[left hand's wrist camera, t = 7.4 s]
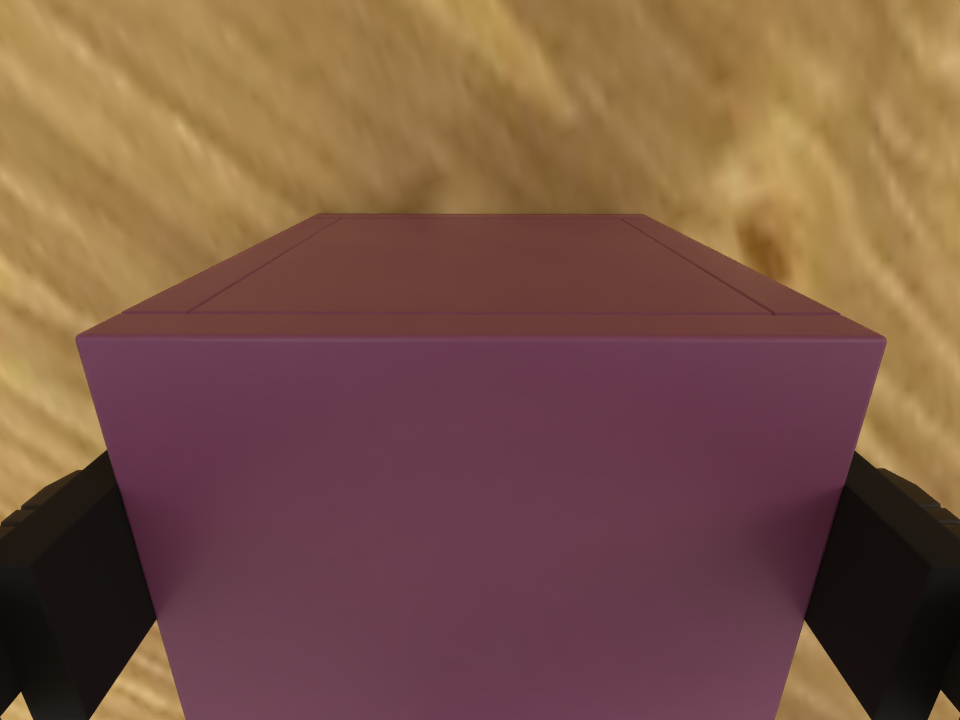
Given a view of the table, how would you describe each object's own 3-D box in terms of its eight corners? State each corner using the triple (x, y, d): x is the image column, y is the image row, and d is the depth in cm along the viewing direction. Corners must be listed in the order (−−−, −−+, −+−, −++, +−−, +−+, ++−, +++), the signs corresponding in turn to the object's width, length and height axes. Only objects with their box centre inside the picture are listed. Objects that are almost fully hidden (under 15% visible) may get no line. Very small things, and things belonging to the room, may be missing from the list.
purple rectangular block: (596, 647, 26) (683, 1032, 15) (362, 646, 26) (274, 1031, 15) (644, 214, 18) (891, 337, 7) (317, 213, 18) (70, 335, 7)
